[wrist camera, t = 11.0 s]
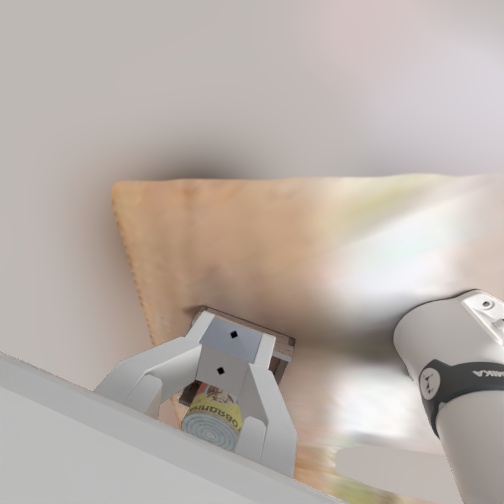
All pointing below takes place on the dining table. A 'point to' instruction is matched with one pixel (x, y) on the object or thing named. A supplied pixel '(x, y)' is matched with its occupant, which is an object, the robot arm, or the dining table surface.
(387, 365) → the dining table surface
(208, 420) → the canned food
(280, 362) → the frame
